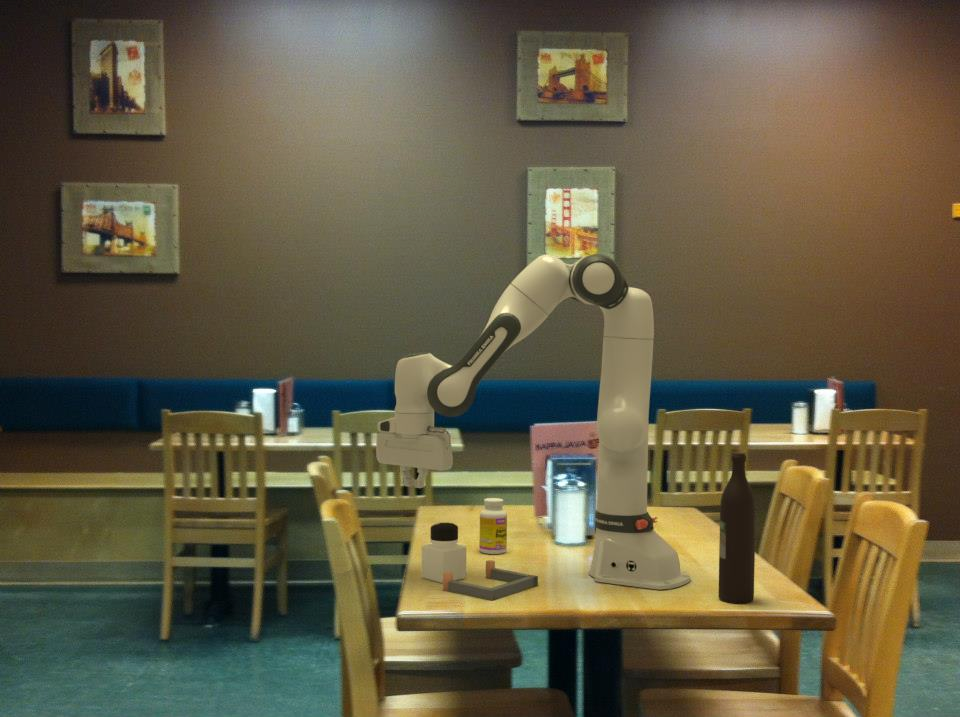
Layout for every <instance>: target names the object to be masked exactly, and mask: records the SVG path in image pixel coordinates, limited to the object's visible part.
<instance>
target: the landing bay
mask: <svg viewBox="0 0 960 717" xmlns="http://www.w3.org/2000/svg"><path fill="white" fill-rule="evenodd" d="M485 578H486V579H491V580H492V579H493V580H497V581H502V582H506V583H503V584H500V585H497V586H493V587H486V586H484V585H483V586H482V585H478V584H474V583H468V582H462V581H460V580H456V581H454V580H453V573H451V572H445V573H443V583H442V590H443V591H445V592H450V593H455V594H460V595H465V596H469V597H475V598H478V599H482V600H483V599H484V600H489V601H495V600H499V599H501V598H504V597H508V596H511V595H513V594H516V593H520V592H523V591H526V590H529V589H531V588H535V587H538V586H539V576H537V575H533V574H528V573H523V572H517V571H513V570H507V569H502V568H496V561H495V560H485Z"/></svg>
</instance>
